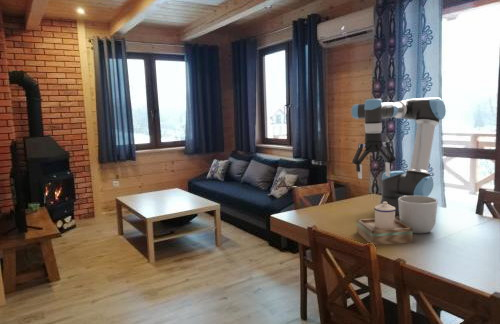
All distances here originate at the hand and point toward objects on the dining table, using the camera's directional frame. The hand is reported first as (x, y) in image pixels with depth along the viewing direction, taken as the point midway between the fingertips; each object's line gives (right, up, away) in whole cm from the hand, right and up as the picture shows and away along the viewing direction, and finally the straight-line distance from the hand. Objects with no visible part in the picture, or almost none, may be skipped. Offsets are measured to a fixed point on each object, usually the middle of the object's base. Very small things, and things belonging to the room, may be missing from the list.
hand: (373, 177), depth 178 cm
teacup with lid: (+2, -22, -7) cm, 23 cm away
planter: (+21, -26, +1) cm, 33 cm away
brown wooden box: (+2, -27, -7) cm, 28 cm away
